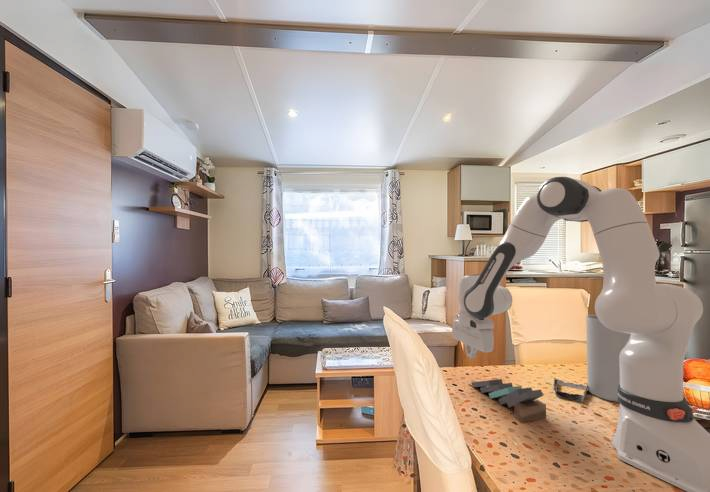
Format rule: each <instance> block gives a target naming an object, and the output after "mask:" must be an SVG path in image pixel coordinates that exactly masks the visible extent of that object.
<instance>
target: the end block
mask: <svg viewBox="0 0 710 492" xmlns="http://www.w3.org/2000/svg"><path fill="white" fill-rule="evenodd" d="M513 408H514V409H513V410H514V411H513V412H514V418H515V420H517V421H519V422H521V423H523V424H524V423H530V422H535V421H542V420H546V419H547V404H545V402H542V401H541V400H539V399H535V400H533V401H527V402H520V403H514V407H513Z"/></svg>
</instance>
